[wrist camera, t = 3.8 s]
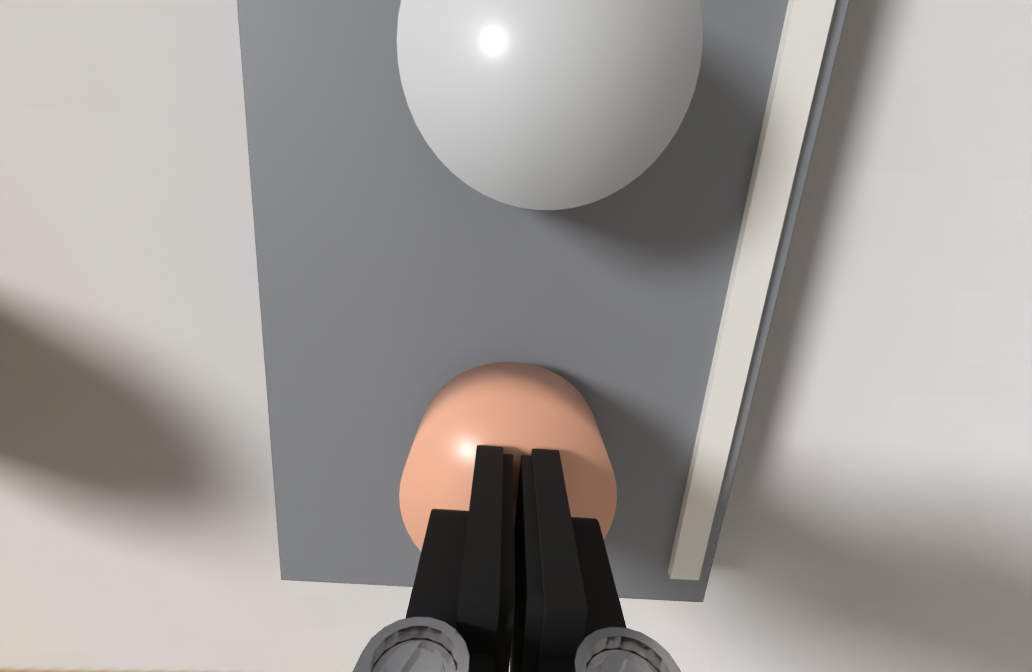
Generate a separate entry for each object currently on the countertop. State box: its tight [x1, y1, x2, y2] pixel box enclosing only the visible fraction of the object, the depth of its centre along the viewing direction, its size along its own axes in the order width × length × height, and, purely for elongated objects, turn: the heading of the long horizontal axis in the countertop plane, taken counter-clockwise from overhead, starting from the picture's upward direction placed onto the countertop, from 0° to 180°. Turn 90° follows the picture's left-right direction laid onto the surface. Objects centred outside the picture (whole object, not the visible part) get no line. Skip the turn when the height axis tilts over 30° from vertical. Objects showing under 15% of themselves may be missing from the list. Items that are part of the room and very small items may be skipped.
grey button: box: [397, 0, 703, 210], centre depth 8 cm, size 4×4×2 cm
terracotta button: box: [399, 362, 617, 551], centre depth 11 cm, size 4×4×2 cm
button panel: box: [237, 0, 849, 602], centre depth 12 cm, size 26×12×3 cm, turn 175°
